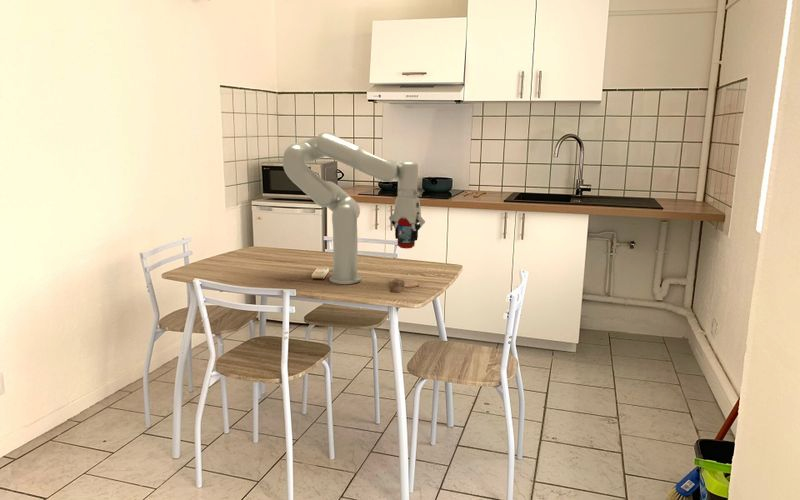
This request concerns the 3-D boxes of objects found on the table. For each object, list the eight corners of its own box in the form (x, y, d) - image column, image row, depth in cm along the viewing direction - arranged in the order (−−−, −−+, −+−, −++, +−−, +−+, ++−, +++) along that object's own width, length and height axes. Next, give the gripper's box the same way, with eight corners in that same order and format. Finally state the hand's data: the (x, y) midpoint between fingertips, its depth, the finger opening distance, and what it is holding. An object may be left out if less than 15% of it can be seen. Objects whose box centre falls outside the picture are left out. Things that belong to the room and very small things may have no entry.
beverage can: (397, 248, 229) (398, 218, 226) (397, 245, 235) (397, 215, 233) (415, 249, 229) (416, 218, 227) (413, 245, 236) (414, 215, 233)
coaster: (387, 283, 233) (387, 282, 233) (406, 279, 239) (406, 278, 239) (404, 289, 226) (404, 287, 225) (423, 284, 232) (423, 283, 232)
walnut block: (389, 291, 222) (389, 281, 221) (394, 289, 226) (394, 279, 225) (399, 293, 220) (399, 282, 219) (404, 290, 224) (404, 280, 223)
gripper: (431, 195, 226) (430, 240, 230) (394, 191, 236) (393, 235, 239) (421, 196, 220) (420, 243, 224) (383, 192, 230) (382, 238, 233)
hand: (406, 239), depth 232 cm, fingers closed on beverage can, 6 cm apart
